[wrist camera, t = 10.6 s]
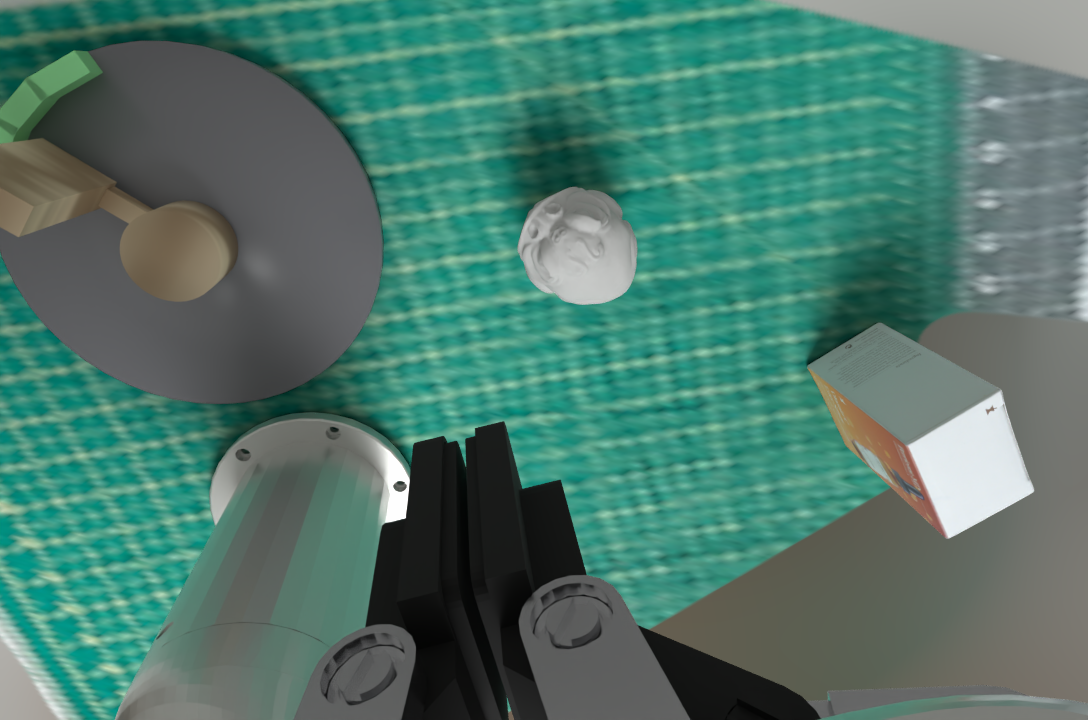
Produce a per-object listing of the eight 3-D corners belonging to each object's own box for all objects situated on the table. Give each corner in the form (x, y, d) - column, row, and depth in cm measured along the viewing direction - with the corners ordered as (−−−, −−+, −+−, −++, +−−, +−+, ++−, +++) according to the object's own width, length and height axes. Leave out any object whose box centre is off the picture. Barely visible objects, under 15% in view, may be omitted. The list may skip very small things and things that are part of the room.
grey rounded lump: (557, 150, 36) (580, 164, 30) (644, 232, 38) (683, 261, 32) (486, 233, 37) (493, 264, 31) (575, 308, 40) (598, 350, 33)
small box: (803, 363, 43) (904, 443, 34) (879, 318, 43) (1003, 386, 33) (845, 448, 46) (947, 543, 37) (915, 407, 46) (1039, 493, 36)
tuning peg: (253, 233, 34) (207, 267, 28) (213, 300, 35) (160, 348, 29) (55, 112, 31) (-49, 119, 24) (18, 189, 32) (-92, 215, 25)
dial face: (344, 425, 41) (338, 445, 38) (-2, 350, 36) (-32, 367, 34) (420, 117, 34) (418, 119, 32) (12, -21, 30) (-23, -29, 28)
